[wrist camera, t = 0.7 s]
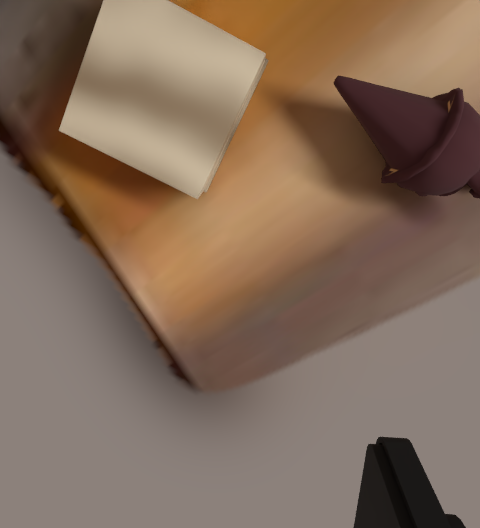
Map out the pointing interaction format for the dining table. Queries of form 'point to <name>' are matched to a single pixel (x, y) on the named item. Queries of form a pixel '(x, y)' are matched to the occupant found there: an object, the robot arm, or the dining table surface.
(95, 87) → the base
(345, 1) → the dining table surface
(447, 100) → the icecream
